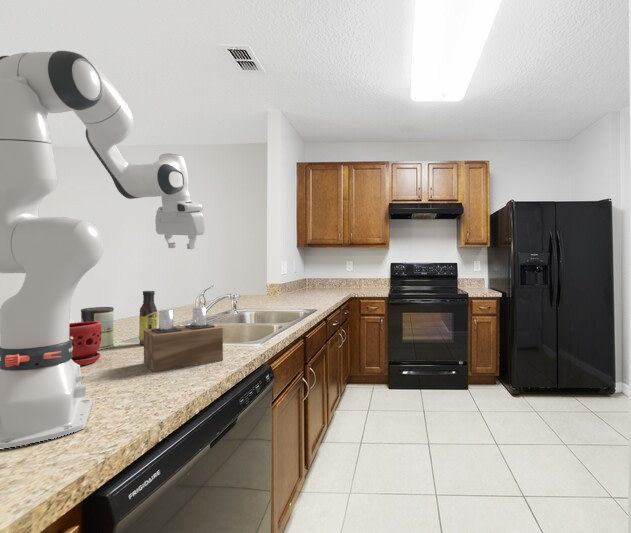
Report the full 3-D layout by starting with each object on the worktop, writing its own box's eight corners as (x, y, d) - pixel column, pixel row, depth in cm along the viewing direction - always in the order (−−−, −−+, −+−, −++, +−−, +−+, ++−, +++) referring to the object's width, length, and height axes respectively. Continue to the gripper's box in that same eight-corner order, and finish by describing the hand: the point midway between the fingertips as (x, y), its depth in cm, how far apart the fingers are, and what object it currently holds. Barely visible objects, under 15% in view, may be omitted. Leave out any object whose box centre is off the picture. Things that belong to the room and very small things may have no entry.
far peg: (208, 339, 118) (208, 307, 117) (195, 341, 115) (195, 308, 115) (203, 337, 121) (203, 306, 121) (191, 339, 118) (190, 307, 118)
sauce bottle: (150, 345, 138) (150, 291, 138) (135, 345, 139) (134, 291, 139) (161, 342, 144) (160, 290, 144) (146, 341, 146) (146, 290, 146)
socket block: (222, 360, 116) (222, 326, 116) (154, 372, 104) (153, 334, 104) (208, 353, 126) (208, 321, 126) (143, 363, 114) (143, 328, 114)
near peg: (175, 344, 112) (175, 310, 112) (161, 346, 109) (160, 311, 109) (171, 341, 115) (171, 309, 115) (157, 343, 112) (157, 310, 112)
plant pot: (105, 356, 123) (105, 319, 123) (97, 366, 111) (96, 325, 111) (58, 360, 119) (57, 322, 119) (44, 371, 106) (43, 328, 106)
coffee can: (77, 351, 130) (76, 310, 130) (85, 345, 140) (85, 307, 140) (110, 349, 133) (110, 309, 133) (116, 343, 143) (116, 306, 143)
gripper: (148, 207, 126) (153, 248, 128) (190, 206, 115) (194, 251, 118) (164, 206, 131) (168, 246, 134) (206, 205, 121) (210, 248, 123)
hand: (181, 248), depth 126 cm, fingers open, 8 cm apart
